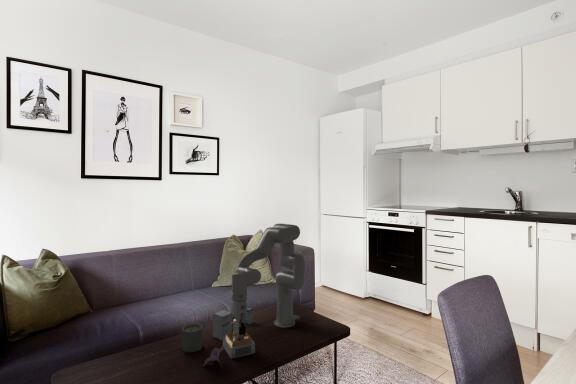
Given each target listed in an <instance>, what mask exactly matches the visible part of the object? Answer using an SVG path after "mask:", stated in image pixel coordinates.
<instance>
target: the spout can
mask: <svg viewBox="0 0 576 384" xmlns="http://www.w3.org/2000/svg"><path fill="white" fill-rule="evenodd" d="M240 320H243V319H240ZM242 323H243V322H241V324H242ZM230 325H232V330H233V332H232V333H233V341H238V340H243V339H244V334H243V335H239V327H240V325H239V322H238V321H237V320H236V319H235V318H234V319H233V318H232V323H230Z"/></svg>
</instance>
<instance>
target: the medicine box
mask: <svg viewBox="0 0 576 384" xmlns="http://www.w3.org/2000/svg"><path fill="white" fill-rule="evenodd" d="M253 323H254V308H252V307H249V306H247V321H246V325H249V326H250V325H251V324H253Z"/></svg>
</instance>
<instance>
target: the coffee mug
mask: <svg viewBox="0 0 576 384" xmlns="http://www.w3.org/2000/svg"><path fill="white" fill-rule="evenodd" d="M203 328H204V327H203V325H202V324H200V323H188V324H186V325H184V326H183V327H182V328H181V350H182V351H183V352H184V353H194V352H198V351H200V350H201V349H202V348H203V337H204V336H203V332H204V331H203V330H204V329H203Z"/></svg>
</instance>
